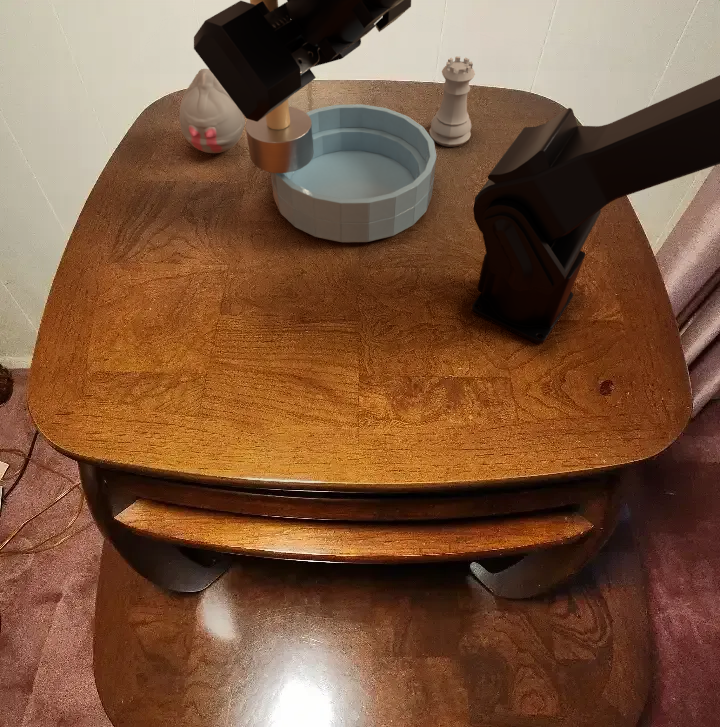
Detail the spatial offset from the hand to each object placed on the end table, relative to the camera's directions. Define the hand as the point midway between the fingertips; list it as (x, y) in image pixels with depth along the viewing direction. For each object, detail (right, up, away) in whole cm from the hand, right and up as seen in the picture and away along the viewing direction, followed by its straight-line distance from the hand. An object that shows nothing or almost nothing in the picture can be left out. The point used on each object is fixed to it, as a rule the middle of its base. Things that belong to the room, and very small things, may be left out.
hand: (260, 77), depth 50 cm
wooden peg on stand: (+1, -5, +5) cm, 7 cm away
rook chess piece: (+18, +1, +17) cm, 24 cm away
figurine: (-7, -1, +15) cm, 17 cm away
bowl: (+7, -7, +10) cm, 14 cm away
